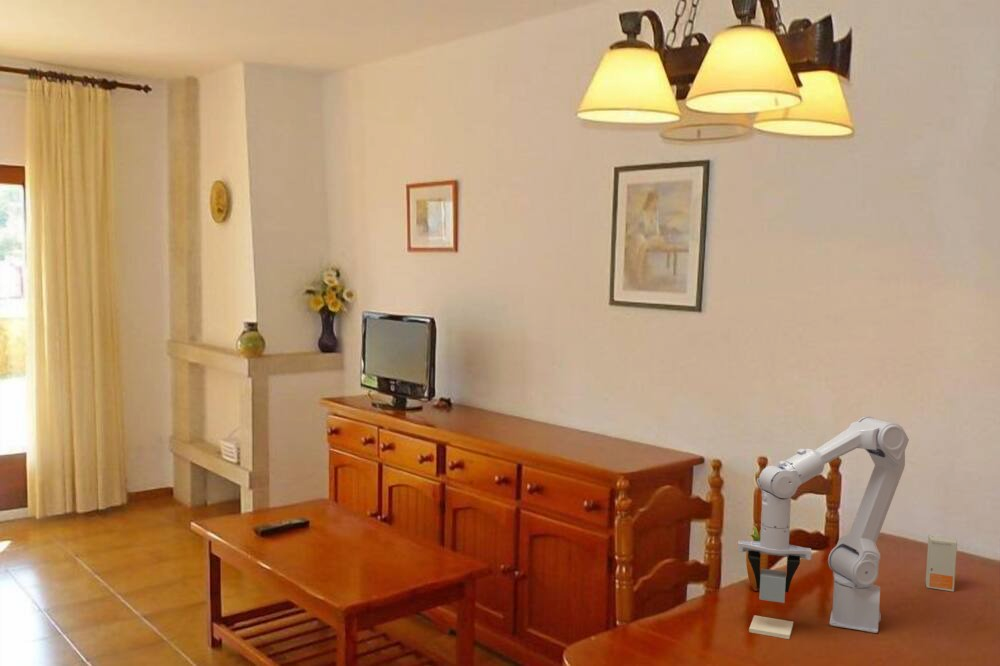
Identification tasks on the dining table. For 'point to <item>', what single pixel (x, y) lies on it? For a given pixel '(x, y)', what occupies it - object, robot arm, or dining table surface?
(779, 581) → the cube
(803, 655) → the dining table surface
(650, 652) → the dining table surface
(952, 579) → the skincare box
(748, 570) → the carrot
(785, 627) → the coaster
